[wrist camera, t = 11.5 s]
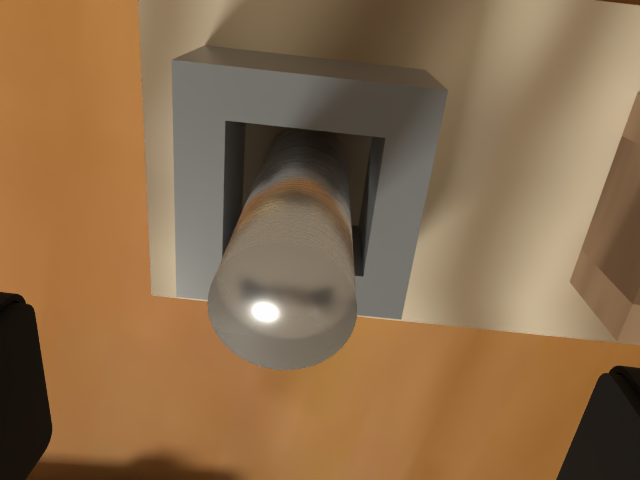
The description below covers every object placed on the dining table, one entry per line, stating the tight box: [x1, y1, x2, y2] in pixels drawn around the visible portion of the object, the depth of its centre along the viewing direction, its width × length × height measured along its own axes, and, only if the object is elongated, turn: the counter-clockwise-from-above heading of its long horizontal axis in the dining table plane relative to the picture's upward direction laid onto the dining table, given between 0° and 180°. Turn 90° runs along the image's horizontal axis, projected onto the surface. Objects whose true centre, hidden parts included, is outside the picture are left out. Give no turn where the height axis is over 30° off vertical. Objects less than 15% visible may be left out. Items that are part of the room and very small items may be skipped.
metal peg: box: [208, 127, 357, 370], centre depth 15 cm, size 3×3×10 cm
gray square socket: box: [172, 45, 448, 319], centre depth 18 cm, size 8×8×4 cm
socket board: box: [138, 0, 640, 345], centre depth 19 cm, size 28×13×6 cm, turn 84°
